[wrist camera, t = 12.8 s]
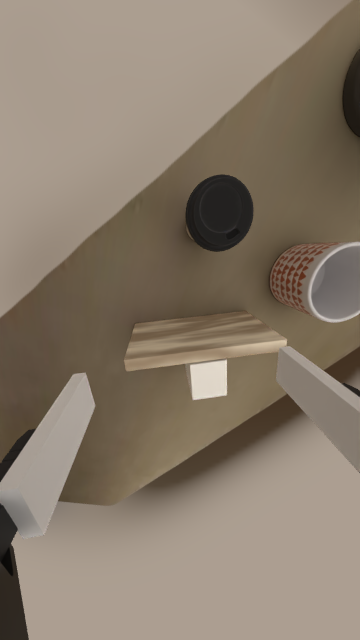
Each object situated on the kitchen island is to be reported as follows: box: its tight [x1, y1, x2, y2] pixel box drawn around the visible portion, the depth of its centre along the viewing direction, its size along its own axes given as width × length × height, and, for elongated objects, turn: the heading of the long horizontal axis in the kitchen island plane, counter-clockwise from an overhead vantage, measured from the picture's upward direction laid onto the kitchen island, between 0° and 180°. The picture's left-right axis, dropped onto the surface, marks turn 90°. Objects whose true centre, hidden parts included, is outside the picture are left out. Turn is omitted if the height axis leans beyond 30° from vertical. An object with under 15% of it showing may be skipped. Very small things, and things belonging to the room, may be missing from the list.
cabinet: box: [185, 358, 227, 400], centre depth 37 cm, size 8×6×9 cm
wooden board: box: [124, 311, 287, 371], centre depth 40 cm, size 8×26×16 cm, turn 95°
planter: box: [270, 242, 360, 322], centre depth 39 cm, size 14×14×13 cm
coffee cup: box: [186, 175, 253, 252], centre depth 33 cm, size 9×9×15 cm
